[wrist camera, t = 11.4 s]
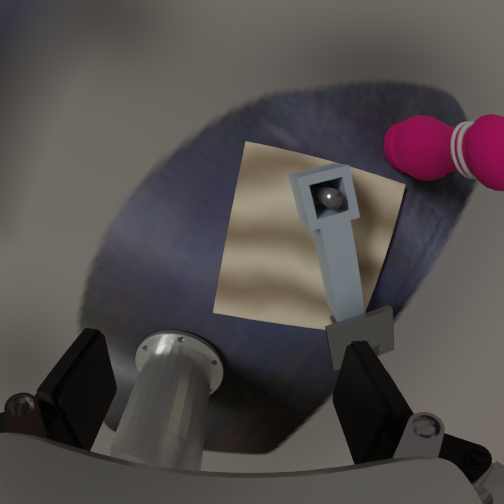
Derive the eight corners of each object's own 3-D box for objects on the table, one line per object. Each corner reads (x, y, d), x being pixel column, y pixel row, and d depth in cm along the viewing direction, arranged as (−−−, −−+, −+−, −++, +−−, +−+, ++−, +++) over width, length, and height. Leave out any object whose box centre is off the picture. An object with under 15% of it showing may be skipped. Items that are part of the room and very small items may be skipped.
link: (357, 293, 35) (373, 315, 30) (319, 305, 35) (330, 329, 30) (332, 163, 30) (349, 165, 25) (287, 174, 30) (296, 177, 25)
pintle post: (320, 199, 33) (340, 211, 25) (305, 195, 32) (321, 206, 25) (324, 183, 32) (345, 191, 25) (308, 179, 32) (326, 186, 25)
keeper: (307, 288, 36) (326, 330, 27) (360, 272, 36) (392, 308, 27) (316, 324, 38) (334, 370, 29) (365, 309, 37) (394, 349, 28)
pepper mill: (436, 151, 31) (562, 168, 12) (404, 188, 32) (529, 230, 13) (403, 107, 29) (529, 86, 10) (368, 143, 31) (493, 144, 12)
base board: (354, 328, 38) (356, 333, 37) (213, 307, 36) (213, 312, 35) (400, 183, 32) (405, 184, 31) (245, 141, 30) (245, 141, 29)
